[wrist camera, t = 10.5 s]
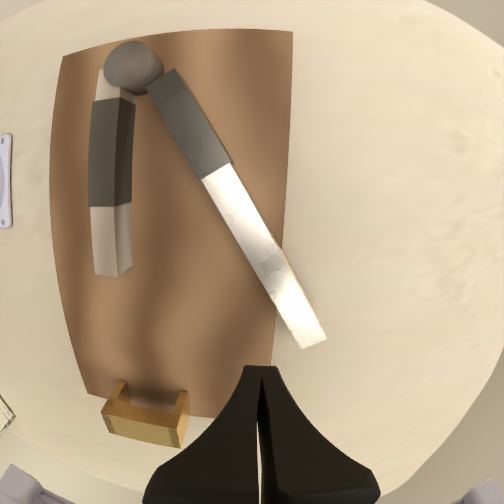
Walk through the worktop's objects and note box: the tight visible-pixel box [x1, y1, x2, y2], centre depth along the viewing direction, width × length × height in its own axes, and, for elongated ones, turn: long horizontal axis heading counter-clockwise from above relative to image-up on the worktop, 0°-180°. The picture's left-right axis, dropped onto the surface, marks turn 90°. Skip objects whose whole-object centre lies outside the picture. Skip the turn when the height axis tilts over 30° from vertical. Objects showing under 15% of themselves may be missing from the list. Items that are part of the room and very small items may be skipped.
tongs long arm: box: [146, 68, 326, 350], centre depth 15 cm, size 2×17×2 cm, turn 29°
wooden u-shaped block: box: [101, 381, 190, 449], centre depth 18 cm, size 6×2×4 cm, turn 87°
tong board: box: [49, 29, 293, 418], centre depth 16 cm, size 16×28×4 cm, turn 177°
